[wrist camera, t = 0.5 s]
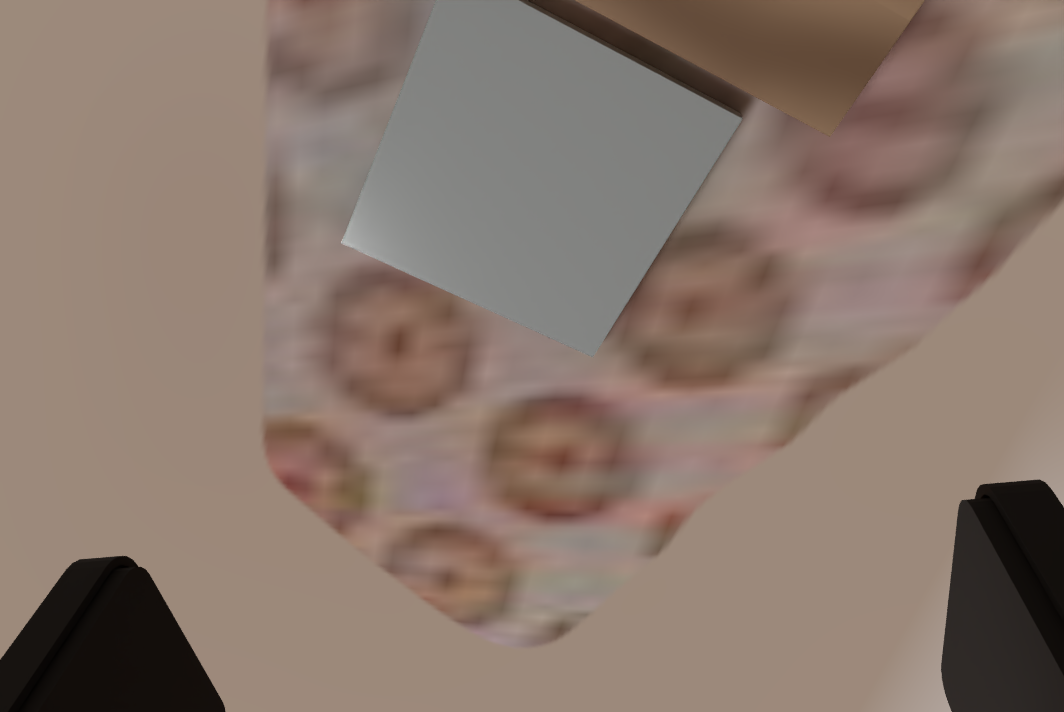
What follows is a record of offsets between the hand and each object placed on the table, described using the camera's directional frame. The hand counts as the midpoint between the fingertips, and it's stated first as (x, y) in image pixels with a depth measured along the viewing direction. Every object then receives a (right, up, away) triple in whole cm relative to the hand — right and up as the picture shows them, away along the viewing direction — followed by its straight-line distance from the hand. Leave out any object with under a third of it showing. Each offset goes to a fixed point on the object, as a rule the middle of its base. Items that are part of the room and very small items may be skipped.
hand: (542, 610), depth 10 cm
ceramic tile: (0, +10, +24) cm, 27 cm away
